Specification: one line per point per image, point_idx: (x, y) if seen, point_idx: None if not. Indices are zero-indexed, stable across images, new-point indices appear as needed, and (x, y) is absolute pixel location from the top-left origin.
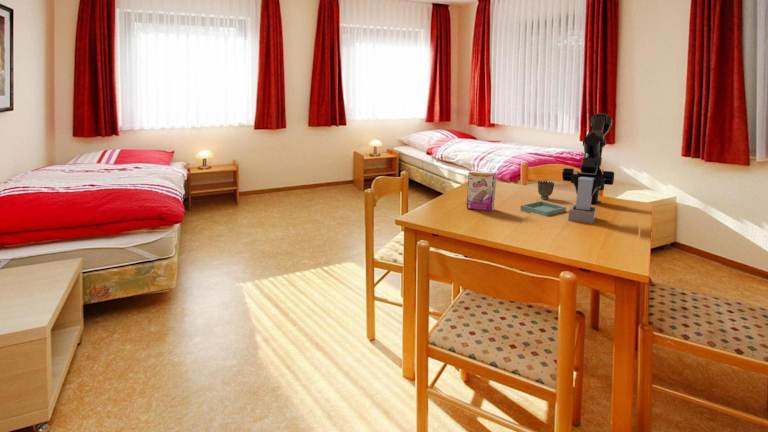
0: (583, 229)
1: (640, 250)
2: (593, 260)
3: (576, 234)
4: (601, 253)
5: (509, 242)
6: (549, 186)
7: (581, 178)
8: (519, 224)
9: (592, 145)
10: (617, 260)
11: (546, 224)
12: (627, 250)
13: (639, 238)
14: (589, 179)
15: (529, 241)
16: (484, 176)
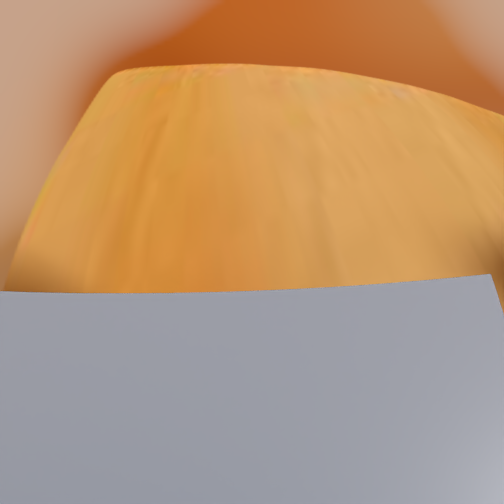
0: (225, 278)
1: (64, 158)
2: (189, 72)
3: (247, 195)
4: (167, 100)
5: (391, 86)
6: None
7: (445, 434)
8: (480, 219)
9: None
10: (139, 89)
11: (412, 272)
12: (96, 142)
13: (23, 260)
14: (46, 355)
15: (359, 98)
16: None
